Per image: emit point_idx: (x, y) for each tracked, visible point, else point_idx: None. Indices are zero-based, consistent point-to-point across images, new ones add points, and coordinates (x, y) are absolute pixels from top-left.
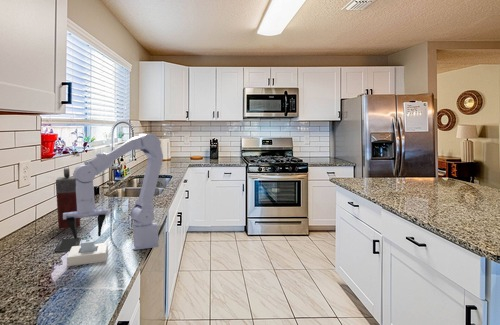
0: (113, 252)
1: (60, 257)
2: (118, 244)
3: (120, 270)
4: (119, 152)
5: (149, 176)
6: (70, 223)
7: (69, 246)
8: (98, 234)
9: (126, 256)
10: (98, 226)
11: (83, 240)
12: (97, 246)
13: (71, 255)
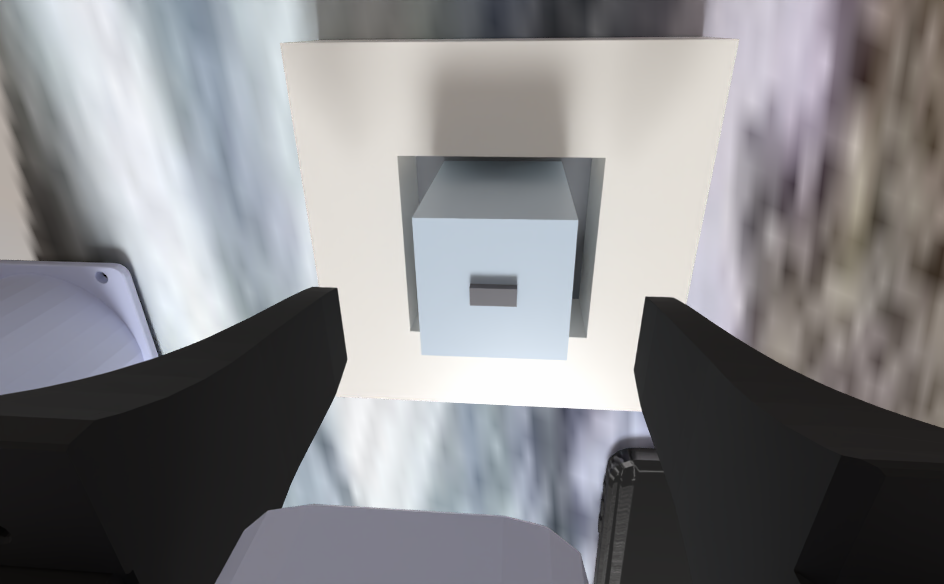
0: (297, 279)
1: (749, 328)
2: None
3: None
4: None
5: None
6: (916, 438)
7: (670, 522)
8: (319, 294)
9: (144, 117)
10: (239, 350)
11: (549, 335)
12: (417, 328)
13: (678, 104)
